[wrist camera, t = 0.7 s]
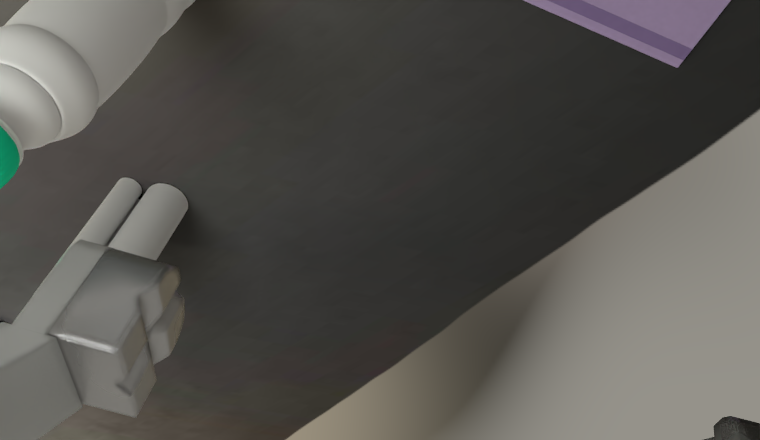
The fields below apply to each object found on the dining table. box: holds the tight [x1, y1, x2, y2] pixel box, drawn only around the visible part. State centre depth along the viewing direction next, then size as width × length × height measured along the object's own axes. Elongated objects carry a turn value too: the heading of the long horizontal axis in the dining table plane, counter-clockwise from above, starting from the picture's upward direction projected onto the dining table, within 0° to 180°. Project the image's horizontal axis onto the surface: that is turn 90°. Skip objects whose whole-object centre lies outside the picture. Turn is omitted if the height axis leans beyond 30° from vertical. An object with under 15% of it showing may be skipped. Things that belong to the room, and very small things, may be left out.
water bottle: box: [0, 0, 195, 189], centre depth 44 cm, size 7×7×25 cm
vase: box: [33, 178, 188, 295], centre depth 68 cm, size 11×7×20 cm, turn 141°
